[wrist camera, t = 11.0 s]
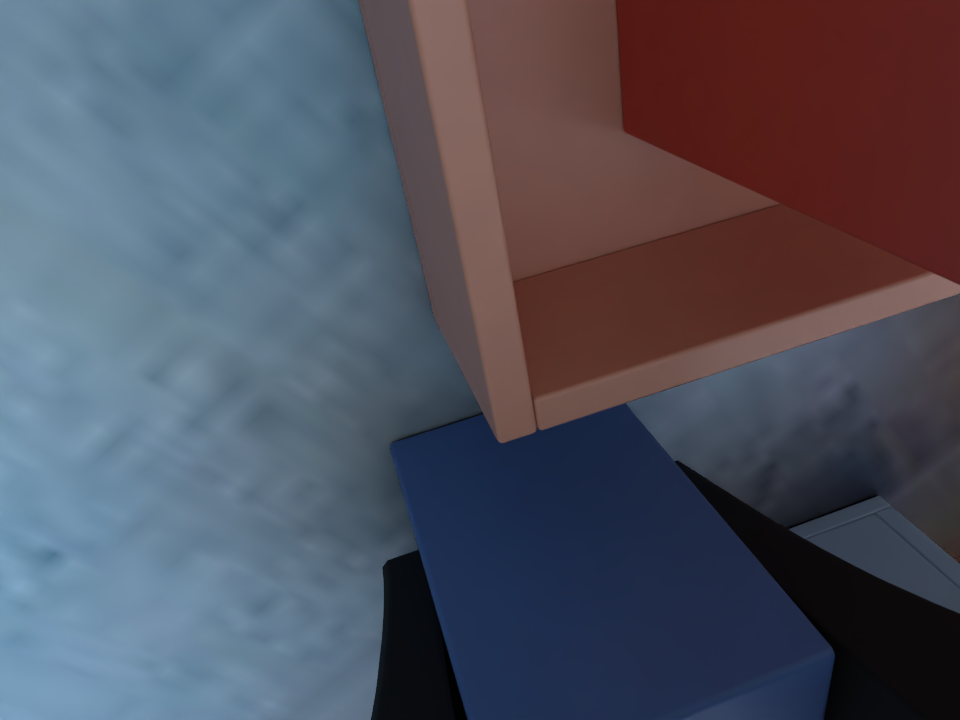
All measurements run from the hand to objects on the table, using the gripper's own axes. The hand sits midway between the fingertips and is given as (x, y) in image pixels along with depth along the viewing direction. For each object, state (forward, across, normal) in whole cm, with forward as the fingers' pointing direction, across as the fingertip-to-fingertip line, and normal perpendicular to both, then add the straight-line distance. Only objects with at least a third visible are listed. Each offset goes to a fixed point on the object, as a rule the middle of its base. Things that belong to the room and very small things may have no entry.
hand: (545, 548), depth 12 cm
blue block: (+2, 0, 0) cm, 2 cm away
